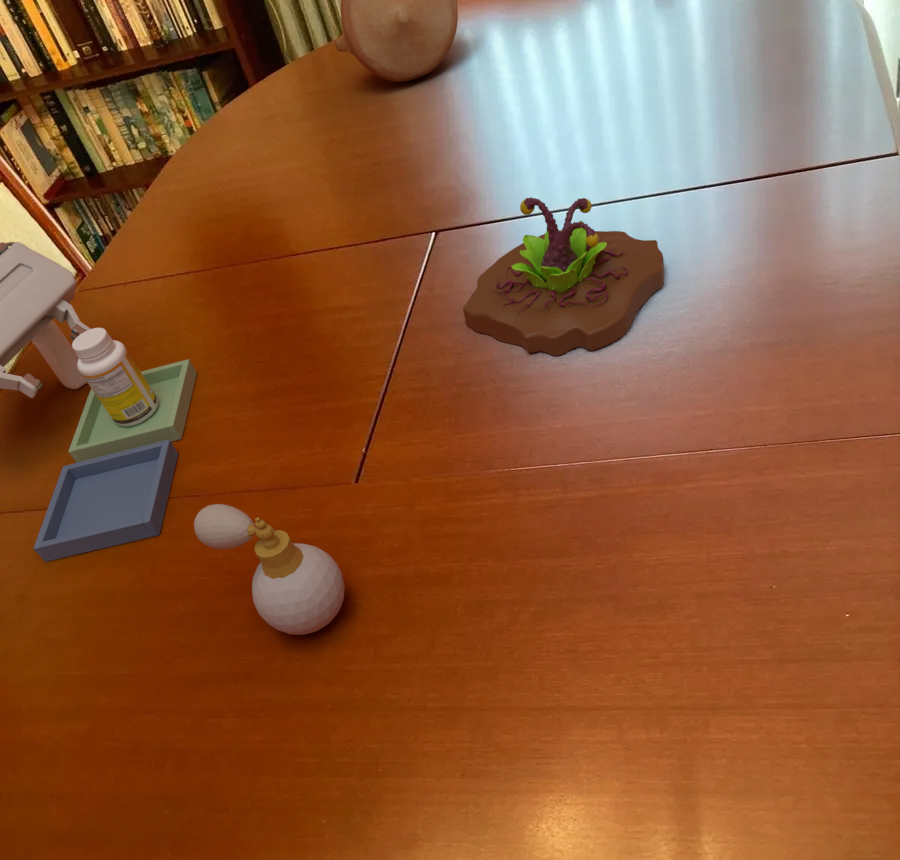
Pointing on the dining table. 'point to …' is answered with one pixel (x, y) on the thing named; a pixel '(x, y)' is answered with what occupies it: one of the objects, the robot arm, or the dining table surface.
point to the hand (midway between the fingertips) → (64, 364)
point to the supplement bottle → (114, 377)
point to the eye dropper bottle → (59, 355)
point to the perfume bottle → (279, 570)
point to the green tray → (165, 423)
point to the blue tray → (108, 501)
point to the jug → (398, 35)
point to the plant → (565, 286)
